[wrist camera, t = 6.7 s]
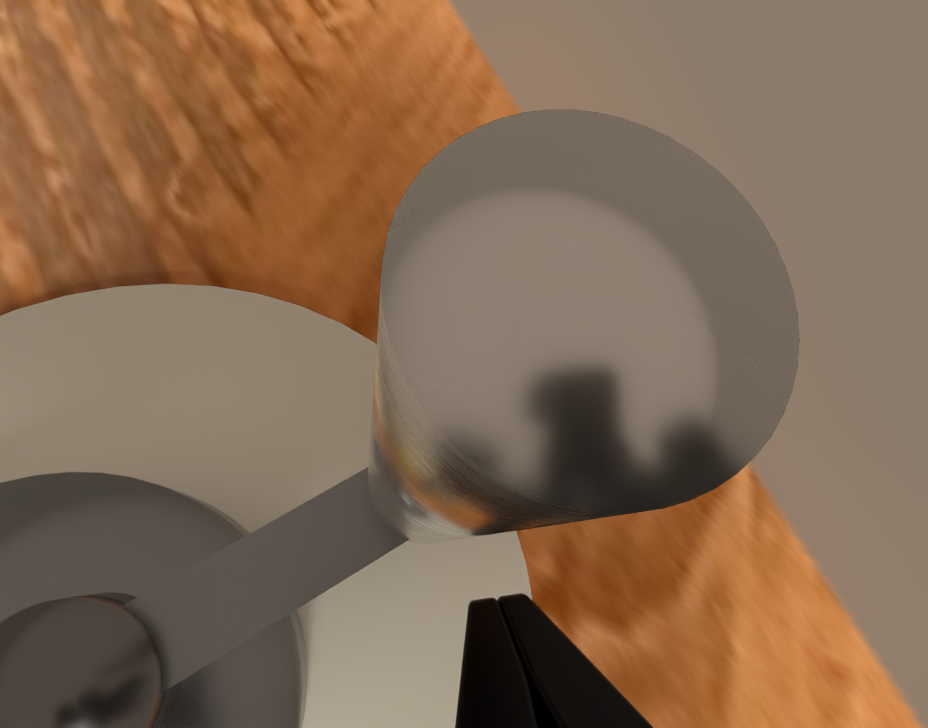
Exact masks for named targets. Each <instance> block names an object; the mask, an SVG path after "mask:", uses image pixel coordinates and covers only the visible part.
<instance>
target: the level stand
mask: <svg viewBox="0 0 928 728" xmlns="http://www.w3.org/2000/svg"><path fill="white" fill-rule="evenodd" d="M376 345H377V344H376V343H374V342H373V341H371V340H369V339H367V338H366V337H364V336H362V335H361V334H359V333H357V332H355V331H354V330H352V329H350V328H349V327H347V326H345V325H343V324H342V323H340V322H337V321H335V320H333V319H330V318H328V317H326V316H323V315H321V314H318V313H316V312H314V311H311V310H309V309H307V308H304V307H302V306H299V305H296V304H292V303H289V302H285V301H282V300H279V299H275V298H272V297H268V296H265V295H261V294H258V293H252V292H246V291H240V290H234V289H228V288H222V287H216V286H202V285H182V284H153V285H137V286H121V287H112V288H107V289H101V290H95V291H89V292H83V293H77V294H72V295H66V296H63V297H59V298H56V299H52V300H48V301H45V302H41V303H38V304H34V305H31V306H27V307H24V308H20V309H16V310H14V311H11V312H9V313H6V314H4V315H1V316H0V483H2V482H6V481H11V480H16V479H20V478H25V477H29V476H34V475H43V474H53V473H63V472H96V473H106V474H113V475H120V476H127V477H132V478H136V479H140V480H143V481H147V482H150V483H154V484H157V485H161V486H164V487H167V488H169V489H172V490H175V491H178V492H181V493H184V494H187V495H189V496H192V497H194V498H196V499H199V500H201V501H203V502H206V503H208V504H210V505H212V506H213V507H215V508H217V509H218V510H220V511H222V512H223V513H225V514H226V515H228V516H230V517H231V518H233V519H234V520H235V521H236V522H237V523H239V524H240V525H241V526H242V527H243V528H245V529H246V530H247V531H248V532H249V533H252V532H254V531H255V530H257V529H259V528H261V527H262V526H264V525H266V524H268V523H270V522H271V521H273V520H275V519H277V518H278V517H280V516H282V515H284V514H285V513H287V512H289V511H291V510H293V509H294V508H296V507H298V506H300V505H301V504H303V503H305V502H307V501H308V500H310V499H312V498H314V497H316V496H317V495H319V494H321V493H323V492H324V491H326V490H328V489H330V488H331V487H333V486H335V485H337V484H339V483H340V482H342V481H344V480H346V479H347V478H349V477H351V476H353V475H354V474H356V473H358V472H360V471H362V470H363V469H365V468H367V467H368V464H369V449H370V434H371V419H372V404H373V390H374V375H375V360H376ZM518 593H523V594H525V595H527V596H528V597H529V598H530V599H531V600H532V595H531V589H530V583H529V577H528V571H527V565H526V562H525V558H524V555H523V552H522V548H521V545H520V542H519V538H518V535H517V531H511V532H504V533H497V534H491V535H484V536H478V537H471V538H464V539H458V540H451V541H444V542H438V543H431V544H418V543H412V542H408V541H406V542H405V543H403V544H402V545H400V546H398V547H397V548H395V549H393V550H392V551H390V552H389V553H387V554H385V555H384V556H382V557H381V558H379V559H377V560H376V561H374V562H372V563H371V564H369V565H368V566H366V567H364V568H363V569H361V570H360V571H358V572H356V573H355V574H353V575H351V576H350V577H348V578H347V579H345V580H343V581H342V582H340V583H339V584H337V585H335V586H334V587H332V588H330V589H329V590H327V591H326V592H324V593H322V594H321V595H319V596H318V597H316V598H314V599H313V600H311V601H310V602H308V603H306V604H305V605H303V606H301V607H300V608H298V609H297V612H298V615H299V618H300V621H301V625H302V631H303V636H304V642H305V647H306V660H307V693H306V707H305V714H304V719H303V724H302V728H455V722H456V713H457V704H458V695H459V686H460V677H461V668H462V658H463V649H464V640H465V631H466V622H467V613H468V605H469V603H470V601H472V600H477V599H484V598H491V597H492V598H495V599H496V600H498V598H499V597H501V596H505V595H511V594H518Z"/></svg>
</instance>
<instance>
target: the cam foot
mask: <svg viewBox="0 0 928 728" xmlns="http://www.w3.org/2000/svg"><path fill="white" fill-rule="evenodd" d="M798 353H799V325H798V313H797V309H796V303H795V297H794V292H793V289H792V285H791V282H790V279H789V276H788V273H787V269H786V266H785V264H784V262H783V260H782V257H781V255H780V253H779V251H778V248H777V246H776V244H775V242H774V241H773V239H772V237H771V235H770V233H769V232H768V230H767V229H766V227H765V225H764V223H763V221H762V220H761V219H760V217H759V216H758V215H757V213H756V212H755V211H754V209H753V208H752V206H751V205H750V204H749V202H748V201H747V200H746V199H745V198H744V197H743V196H742V195H741V193H740V192H739V191H738V190H737V189H736V188H735V187H734V186H733V185H732V183H731V182H730V181H729V180H728V179H726V178H725V177H724V176H723V175H722V174H721V173H719V171H717V170H716V169H715V168H714V167H713V166H712V165H711V164H709V163H708V162H707V161H705V160H704V159H703V158H701V157H700V156H699V155H697V154H696V153H694V152H693V151H692V150H690V149H689V148H687V147H685V146H684V145H682V144H680V143H678V142H677V141H675V140H673V139H671V138H670V137H668V136H666V135H664V134H662V133H659V132H657V131H655V130H653V129H651V128H649V127H647V126H644V125H641V124H638V123H635V122H632V121H629V120H626V119H623V118H620V117H615V116H611V115H607V114H602V113H597V112H589V111H581V110H541V111H532V112H524V113H520V114H516V115H512V116H507V117H503V118H500V119H498V120H495V121H492V122H490V123H487V124H484V125H482V126H479V127H477V128H476V129H474V130H472V131H470V132H468V133H466V134H464V135H463V136H461V137H459V138H458V139H456V140H455V141H453V142H452V143H451V144H449V145H448V146H447V147H445V148H444V149H443V150H441V151H440V152H439V153H438V154H437V155H436V156H435V157H434V158H433V159H432V160H431V161H430V162H429V163H428V164H427V165H426V166H425V167H424V168H423V169H422V170H421V171H420V173H419V174H418V175H417V177H416V178H415V179H414V180H413V182H412V183H411V184H410V186H409V187H408V189H407V191H406V192H405V194H404V196H403V198H402V200H401V202H400V203H399V205H398V207H397V209H396V211H395V214H394V217H393V220H392V223H391V225H390V228H389V231H388V234H387V239H386V244H385V249H384V254H383V259H382V272H381V286H380V301H379V316H378V331H377V345H376V360H375V375H374V390H373V404H372V419H371V434H370V449H369V464H368V467H367V468H365V469H363V470H362V471H360V472H358V473H356V474H354V475H353V476H351V477H349V478H347V479H346V480H344V481H342V482H340V483H339V484H337V485H335V486H333V487H331V488H330V489H328V490H326V491H324V492H323V493H321V494H319V495H317V496H316V497H314V498H312V499H310V500H308V501H307V502H305V503H303V504H301V505H300V506H298V507H296V508H294V509H293V510H291V511H289V512H287V513H285V514H284V515H282V516H280V517H278V518H277V519H275V520H273V521H271V522H270V523H268V524H266V525H264V526H262V527H261V528H259V529H257V530H255V531H254V532H252V533H249V532H248V531H247V530H246V529H245V528H243V527H242V526H241V525H240V524H239V523H237V522H236V521H235V520H234V519H233V518H231V517H230V516H228V515H226V514H225V513H223V512H222V511H220V510H218V509H217V508H215V507H213V506H212V505H210V504H208V503H206V502H203V501H201V500H199V499H196V498H194V497H192V496H189V495H187V494H184V493H181V492H178V491H175V490H172V489H169V488H167V487H164V486H161V485H157V484H154V483H150V482H147V481H143V480H140V479H136V478H132V477H127V476H120V475H113V474H106V473H96V472H63V473H53V474H43V475H34V476H29V477H25V478H20V479H16V480H11V481H6V482H2V483H0V728H302V724H303V719H304V714H305V707H306V693H307V660H306V647H305V642H304V636H303V631H302V625H301V621H300V618H299V615H298V612H297V609H298V608H300V607H301V606H303V605H305V604H306V603H308V602H310V601H311V600H313V599H314V598H316V597H318V596H319V595H321V594H322V593H324V592H326V591H327V590H329V589H330V588H332V587H334V586H335V585H337V584H339V583H340V582H342V581H343V580H345V579H347V578H348V577H350V576H351V575H353V574H355V573H356V572H358V571H360V570H361V569H363V568H364V567H366V566H368V565H369V564H371V563H372V562H374V561H376V560H377V559H379V558H381V557H382V556H384V555H385V554H387V553H389V552H390V551H392V550H393V549H395V548H397V547H398V546H400V545H402V544H403V543H405V542H406V541H408V542H412V543H418V544H431V543H438V542H444V541H451V540H458V539H464V538H471V537H478V536H484V535H491V534H497V533H504V532H511V531H517V530H524V529H530V528H537V527H544V526H550V525H557V524H564V523H570V522H577V521H583V520H590V519H597V518H603V517H610V516H616V515H623V514H630V513H636V512H643V511H650V510H656V509H662V508H666V507H669V506H673V505H676V504H680V503H683V502H686V501H690V500H692V499H694V498H696V497H698V496H700V495H703V494H705V493H707V492H709V491H711V490H713V489H715V488H717V487H718V486H720V485H721V484H723V483H724V482H725V481H727V480H728V479H730V478H731V477H733V476H734V475H736V474H737V473H738V472H739V471H740V470H741V469H742V468H744V467H745V466H746V465H747V464H748V463H749V462H750V461H751V460H752V459H753V458H754V457H755V456H756V455H757V454H758V453H759V451H760V450H761V449H762V447H763V446H764V445H765V444H766V442H767V441H768V440H769V438H770V437H771V436H772V434H773V432H774V430H775V429H776V427H777V425H778V423H779V421H780V420H781V418H782V416H783V414H784V412H785V409H786V406H787V404H788V401H789V398H790V395H791V393H792V390H793V385H794V381H795V376H796V371H797V367H798Z"/></svg>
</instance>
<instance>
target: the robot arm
mask: <svg viewBox="0 0 928 728" xmlns="http://www.w3.org/2000/svg"><path fill="white" fill-rule="evenodd" d="M455 728H653V727H652V726H651V725H650V723H649V722H648V721H647V720H646V719H645V718H644V717H643V716H642V715H641V714H640V713H639V712H638V711H637V710H636V709H635V708H634V707H633V706H632V705H631V704H630V702H629V701H628V700H627V699H626V698H625V697H624V696H623V695H622V694H621V693H620V692H619V691H618V690H617V689H616V688H615V687H614V686H613V685H612V684H611V683H610V681H609V680H608V679H607V678H606V677H605V676H604V675H603V674H602V673H601V672H600V671H599V670H598V669H597V668H596V667H595V666H594V665H593V664H592V663H591V662H590V660H589V659H588V658H587V657H586V656H585V655H584V654H583V653H582V652H581V651H580V650H579V649H578V648H577V647H576V646H575V645H574V644H573V643H572V642H571V641H570V640H569V638H568V637H567V636H566V635H565V634H564V633H563V632H562V631H561V630H560V629H559V628H558V627H557V626H556V625H555V624H554V623H553V622H552V621H551V620H550V619H549V617H548V616H547V615H546V614H545V613H544V612H543V611H542V610H541V609H540V608H539V607H538V606H537V605H536V604H535V603H534V602H533V601H532V600H531V599H530V598H529V597H528V596H527V595H525V594H523V593H518V594H511V595H505V596H501V597H499V598H498V600H496V599H495V598H492V597H491V598H484V599H477V600H472V601H470V603H469V605H468V613H467V622H466V631H465V640H464V649H463V658H462V668H461V677H460V686H459V695H458V704H457V713H456V722H455Z"/></svg>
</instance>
